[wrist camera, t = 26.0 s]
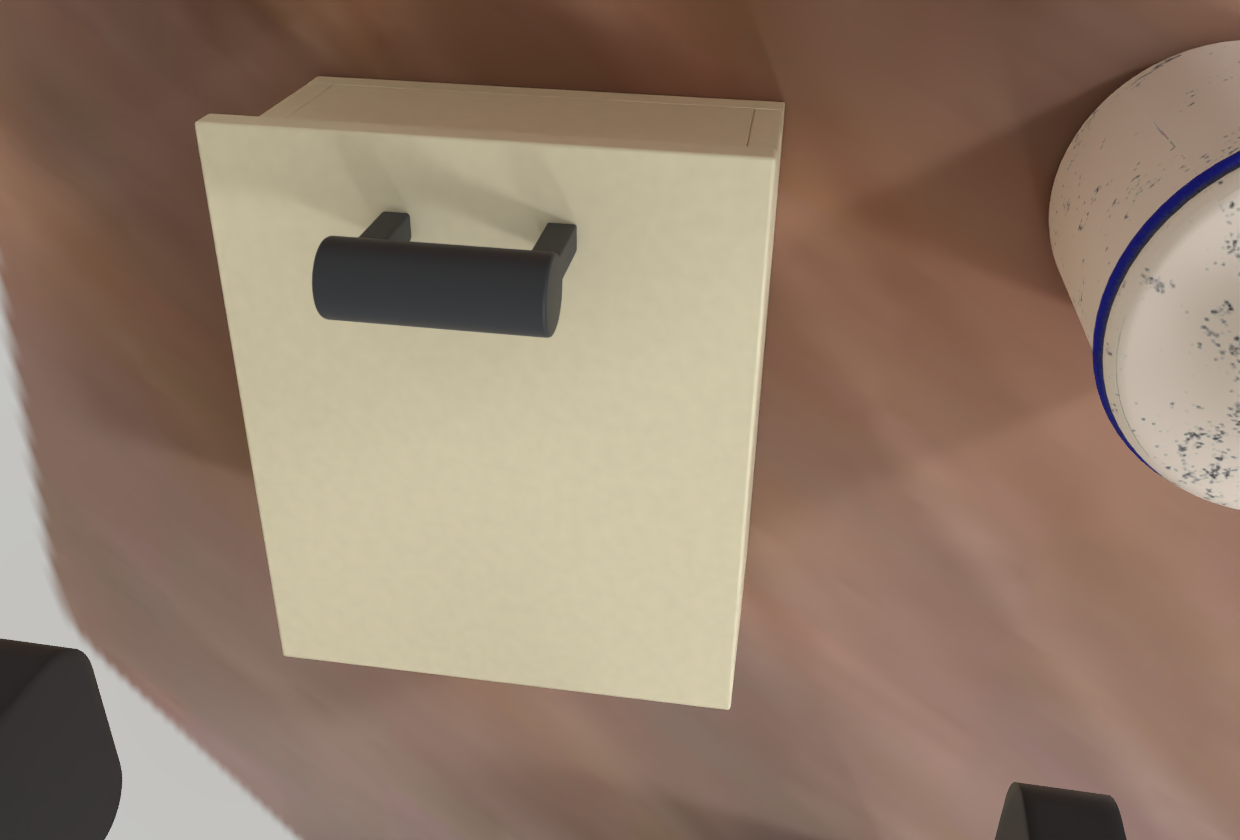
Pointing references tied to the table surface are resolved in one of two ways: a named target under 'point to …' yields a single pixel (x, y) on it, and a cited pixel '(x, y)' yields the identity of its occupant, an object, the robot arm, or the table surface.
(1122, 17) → the table surface
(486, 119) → the cream hinged box
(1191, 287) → the teacup with lid
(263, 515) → the lid
